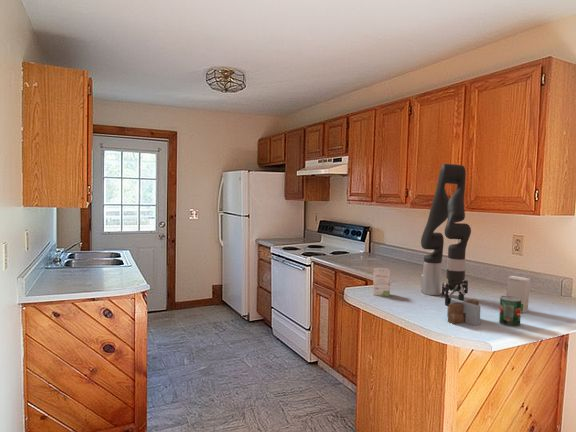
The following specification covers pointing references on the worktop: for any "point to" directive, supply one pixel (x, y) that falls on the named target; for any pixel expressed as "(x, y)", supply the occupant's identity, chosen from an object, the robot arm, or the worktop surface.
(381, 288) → the ink box
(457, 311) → the wooden u-shaped brace
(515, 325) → the canned tomato
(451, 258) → the robot arm
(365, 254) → the worktop surface
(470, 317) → the grey tall rectangular block
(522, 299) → the skincare box
